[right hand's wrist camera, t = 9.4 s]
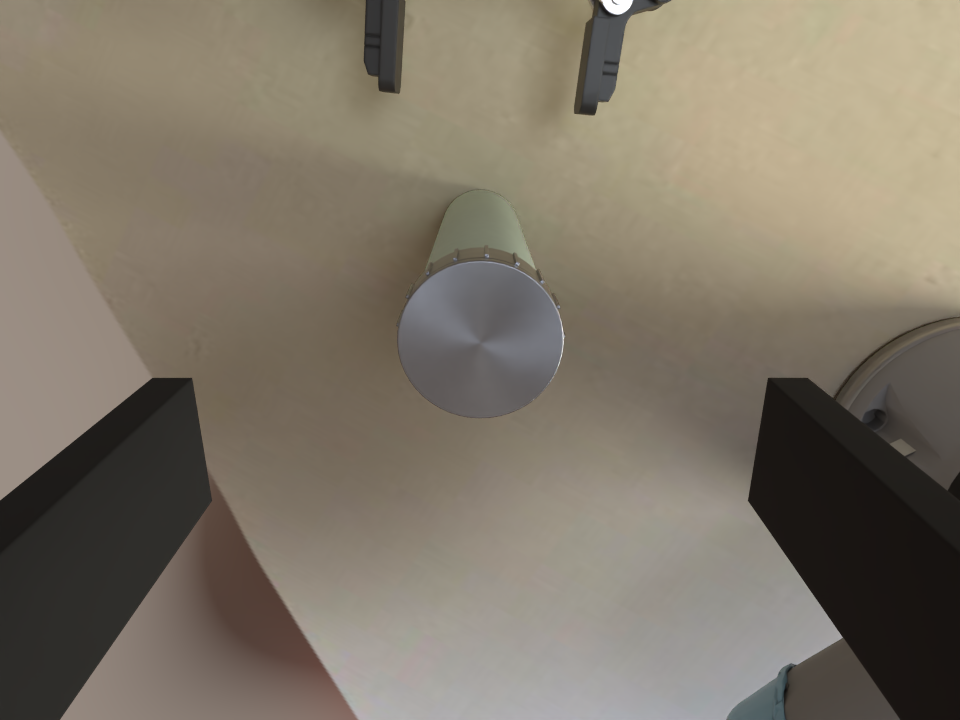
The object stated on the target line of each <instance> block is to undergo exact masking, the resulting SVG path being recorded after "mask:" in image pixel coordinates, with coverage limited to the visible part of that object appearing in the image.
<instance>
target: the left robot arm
mask: <svg viewBox="0 0 960 720" xmlns="http://www.w3.org/2000/svg"><path fill="white" fill-rule="evenodd" d="M669 1H671V0H588V2H589V4H590V6H591V8H592V10H593V16H592V18H591V19H590V20H589V21H588V22H587V23H586V27H585V34H584V41H583V48H582V55H581V62H580V69H579V76H578V83H577V90H576V97H575V105H574V114H582V115H595V113H596V110H597V105H598V102H608V101H609V100H610V98H611V96H612V94H613V92H614V90H615V86H616V80H617V73H618V68H619V61H620V55H621V49H622V43H623V36H624V30H625V25H626V23H627V21H628V19H629V18H630V16H631V15H634V14H638V13H642V12H645V11H653V10H656V9H658V8H659V7H661V6H662V5H663V4H665V3H667V2H669ZM404 17H405V0H366V15H365V42H364V44H365V46H364V63H365V66H366V69H367V72H368V74H369V75H371V76H376V77H378V86H379V91H382V92H389V93H398V94H399V93H400V87H401V71H402V53H403V35H404Z"/></svg>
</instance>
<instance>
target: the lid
mask: <svg viewBox="0 0 960 720" xmlns="http://www.w3.org/2000/svg"><path fill="white" fill-rule="evenodd" d="M406 298H407V301H406V304H405V306H404V309H403V310H402V312H401V314H400V317H399V319H398V322H397V326H398V335H397V344H398V353H399V357H400V361H401V364H402V366H403V369H404V371H405V373H406V375H407V377H408V379H409V380H410V382H411V383H412V384H413V386H414V387H415V388H416V390H417V391H418V392H419V393H420V394H421V395H422V396H423V397H425V398H426V399H427V400H428V401H430V402H431V403H432V404H434V405H436V406H437V407H439V408H441V409H443V410H445V411H447V412H450V413H453V414H456V415H459V416H464V417H470V418H491V417H497V416H502V415H505V414H508V413H511V412H514V411H516V410H518V409H520V408H522V407H524V406H525V405H527V404H529V403H530V402H531V401H533V400H534V399H535V398H537V397H538V396H539V395H540V394H541V393H542V392H543V391H544V390H545V388H546V387H547V386H548V385H549V383H550V382H551V380H552V379H553V377H554V375H555V374H556V371H557V369H558V367H559V364H560V361H561V357H562V353H563V346H564V338H565V334H564V331H563V325H562V321H561V317H560V314H559V311H558V309H560V306H559V303H558V301H557V299H556V296H555V294H554V293H553V294H551V292H550V289H549V287H548V286H547V284H546V282H545V281H544V279H543V277H542V274H541V271H540V270H539V269H538V270H537V271H536V270H535V269H534V268H533V267H532V266H531V265H530V264H528V263H527V262H525V261H524V260H522V259H521V258H519V257H518V255H517V253H515V252H514V253H513V254H511V253H508V252H505V251H503V250H498V249H493V248H488V245H485V246H484V248H483V247H479V248H468V249H463V250H459V249H458V248H457V249H455V251H454V252H453V253H450V254H448V255H446V256H444V257H442V258H440V259H439V260H437V261H436V262H434V263H432V262H430V263H429V264H428V267H427V269H426V270H425V271H424V272H423V273H422V274H421V275H420V277H419V278H418V279H417V281H416V282H415V284H413V283H412V284H411V285H410V288H409V290H408V293H407V295H406Z"/></svg>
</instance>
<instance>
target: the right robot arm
mask: <svg viewBox="0 0 960 720" xmlns="http://www.w3.org/2000/svg"><path fill="white" fill-rule="evenodd" d="M211 501H212V498H211V492H210V486H209V480H208V474H207V467H206V461H205V455H204V449H203V443H202V437H201V430H200V424H199V418H198V412H197V406H196V400H195V393H194V387H193V381H192V378H152V379H151V380H149V381H148V382H147V383H146V384H145V385H143V386H142V387H141V388H140V389H138V390H137V391H136V392H135V393H133V394H132V395H131V396H130V397H128V398H127V399H126V400H125V401H123V402H122V403H121V404H120V405H118V406H117V407H116V408H115V409H113V410H112V411H111V412H110V413H108V414H107V415H106V416H105V417H104V418H102V419H101V420H100V421H99V422H97V423H96V424H95V425H94V426H92V427H91V428H90V429H89V430H87V431H86V432H85V433H84V434H82V435H81V436H80V437H79V438H77V439H76V440H75V441H74V442H72V443H71V444H70V445H69V446H67V447H66V448H65V449H64V450H62V451H61V452H60V453H59V454H57V455H56V456H55V457H54V458H53V459H51V460H50V461H49V462H48V463H46V464H45V465H44V466H43V467H41V468H40V469H39V470H38V471H36V472H35V473H34V474H33V475H31V476H30V477H29V478H28V479H26V480H25V481H24V482H23V483H21V484H20V485H19V486H18V487H16V488H15V489H14V490H13V491H12V492H10V493H9V494H8V495H7V496H5V497H4V498H3V499H2V500H0V720H60V719H61V717H62V716H63V714H64V713H65V712H66V710H67V709H68V707H69V706H70V704H71V703H72V701H73V700H74V698H75V697H76V696H77V694H78V693H79V691H80V690H81V689H82V687H83V686H84V684H85V683H86V681H87V680H88V678H89V677H90V675H91V674H92V673H93V671H94V670H95V668H96V667H97V665H98V664H99V663H100V661H101V660H102V658H103V657H104V655H105V654H106V652H107V651H108V650H109V648H110V647H111V645H112V644H113V642H114V641H115V640H116V638H117V637H118V635H119V634H120V632H121V631H122V629H123V628H124V627H125V625H126V624H127V622H128V621H129V619H130V618H131V616H132V615H133V614H134V612H135V611H136V609H137V608H138V606H139V605H140V604H141V602H142V601H143V599H144V598H145V596H146V595H147V593H148V592H149V591H150V589H151V588H152V586H153V585H154V583H155V582H156V581H157V579H158V578H159V576H160V575H161V573H162V572H163V570H164V569H165V568H166V566H167V565H168V563H169V562H170V560H171V559H172V557H173V556H174V555H175V553H176V552H177V550H178V549H179V547H180V546H181V544H182V543H183V542H184V540H185V539H186V537H187V536H188V534H189V533H190V532H191V530H192V529H193V527H194V526H195V524H196V523H197V521H198V520H199V519H200V517H201V516H202V514H203V513H204V511H205V510H206V508H207V507H208V506H209V504H210V503H211ZM748 501H749V503H750V504H751V506H752V507H753V508H754V510H755V511H756V513H757V514H758V516H759V517H760V519H761V520H762V521H763V523H764V524H765V526H766V527H767V529H768V530H769V532H770V533H771V534H772V536H773V537H774V539H775V540H776V542H777V543H778V544H779V546H780V547H781V549H782V550H783V552H784V553H785V555H786V556H787V557H788V559H789V560H790V562H791V563H792V565H793V566H794V568H795V569H796V570H797V572H798V573H799V575H800V576H801V578H802V579H803V580H804V582H805V583H806V585H807V586H808V588H809V589H810V591H811V592H812V593H813V595H814V596H815V598H816V599H817V601H818V602H819V604H820V605H821V606H822V608H823V609H824V611H825V612H826V614H827V615H828V617H829V618H830V619H831V621H832V622H833V624H834V625H835V627H836V628H837V629H838V631H839V632H840V634H841V635H842V637H843V638H842V639H840V640H839V641H837V642H835V643H834V644H832V645H830V646H829V647H827V648H825V649H824V650H822V651H820V652H819V653H817V654H815V655H813V656H812V657H810V658H808V659H807V660H805V661H803V662H802V663H800V664H798V665H794V664H792V663H791V664H789V665H787V666H785V667H783V668H782V669H781V670H780V672H779V674H778V677H777V678H775V679H774V680H772V681H771V682H770V683H768V684H767V685H765V686H764V687H762V688H761V689H759V690H758V691H757V692H755V693H754V694H752V695H751V696H749V697H748V698H746V699H745V700H744V701H742V702H741V703H739V704H738V705H737V706H736V707H735V708H734V709H733V710H732V711H731V712H730V714H729V715H728V717H727V719H726V720H960V318H953V319H947V320H942V321H939V322H935V323H932V324H928V325H926V326H923V327H920V328H918V329H915V330H913V331H911V332H909V333H907V334H905V335H903V336H901V337H899V338H897V339H896V340H894V341H892V342H891V343H889V344H888V345H886V346H885V347H883V348H882V349H880V350H879V351H878V352H877V353H875V354H874V355H873V356H872V357H870V358H869V359H868V360H867V361H866V362H865V363H864V364H863V365H862V366H861V367H860V368H859V369H858V370H857V371H856V372H855V373H854V374H853V375H852V376H851V378H850V379H849V380H848V382H847V383H846V384H845V386H844V387H843V388H842V390H841V392H840V393H839V395H838V396H837V398H836V400H834V399H833V398H832V397H830V396H829V395H828V394H827V393H825V392H824V391H823V390H822V389H820V388H819V387H818V386H817V385H816V384H814V383H813V382H812V381H811V380H809V379H808V378H768V381H767V387H766V393H765V400H764V406H763V412H762V418H761V424H760V430H759V437H758V443H757V449H756V455H755V461H754V467H753V474H752V480H751V486H750V492H749V498H748Z"/></svg>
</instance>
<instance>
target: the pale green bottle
mask: <svg viewBox="0 0 960 720" xmlns="http://www.w3.org/2000/svg"><path fill="white" fill-rule="evenodd" d="M485 245H488V248H493V249H498V250H503V251H505V252H508V253H511V254H513V253H514V252H515V253H517V255H518V257H519V258H521V259H522V260H524V261H525V262H527V263H528V264H530V265H531V266H532V267H533V268H534V269H535V266H534V263H533V260H532V258H531V255H530V252H529V249H528V246H527V244H526V241H525V238H524V235H523V233H522V230H521V227H520V224H519V221H518V219H517V216H516V213H515V211H514V209H513V208H512V206H511V205H510V203H509V202H508V201H507V200H506V199H505V198H503V197H502V196H500V195H499V194H497V193H494V192H492V191H488V190H473V191H469V192H466V193H464V194H462V195H460V196H459V197H457V198H456V199H455V200H454V201H453V202H452V203H451V204H450V205H449V207H448V209H447V210H446V212H445V215H444V218H443V220H442V223H441V226H440V229H439V232H438V235H437V237H436V240H435V243H434V246H433V249H432V252H431V254H430V257H429V260H428V263H427V266H426V268H425V270H426V269H427V267H428V264H429V263H430V262H432V263H434V262H436V261H437V260H439V259H440V258H442V257H444V256H446V255H448V254H450V253H453V252H454V251H455V249H457V248H458V249H459V250H463V249H468V248H479V247H483V248H484V246H485ZM535 270H536V269H535Z"/></svg>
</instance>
